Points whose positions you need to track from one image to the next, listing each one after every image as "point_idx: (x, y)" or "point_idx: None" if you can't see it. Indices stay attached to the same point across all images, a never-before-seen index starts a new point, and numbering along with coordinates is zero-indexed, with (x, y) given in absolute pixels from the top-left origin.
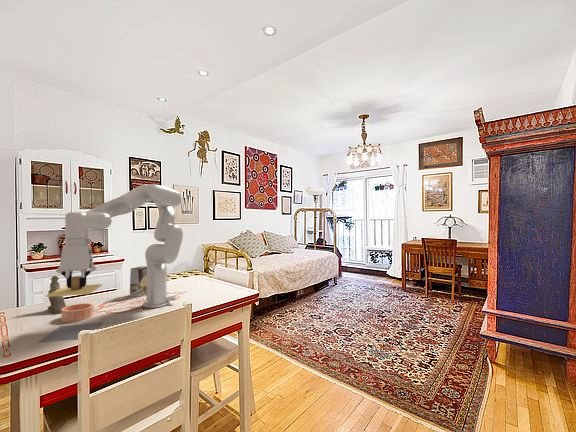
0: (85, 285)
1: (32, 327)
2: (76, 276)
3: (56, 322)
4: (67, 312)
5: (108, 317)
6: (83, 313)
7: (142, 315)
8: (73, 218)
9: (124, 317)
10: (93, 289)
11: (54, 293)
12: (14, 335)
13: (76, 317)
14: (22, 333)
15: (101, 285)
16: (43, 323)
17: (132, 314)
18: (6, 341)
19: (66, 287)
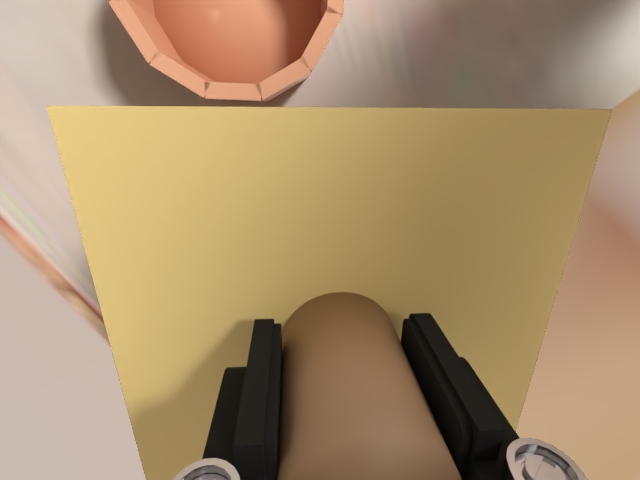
0: (382, 144)
1: (48, 128)
2: (349, 473)
3: (140, 61)
4: (205, 98)
5: (440, 45)
6: (306, 76)
7: (634, 65)
8: None
9: (533, 76)
10: (522, 382)
11: (189, 460)
12: (49, 237)
13: (270, 98)
14: (69, 218)
15: (590, 143)
16: (62, 60)
17: (581, 19)
18: (76, 303)
19: (148, 215)
